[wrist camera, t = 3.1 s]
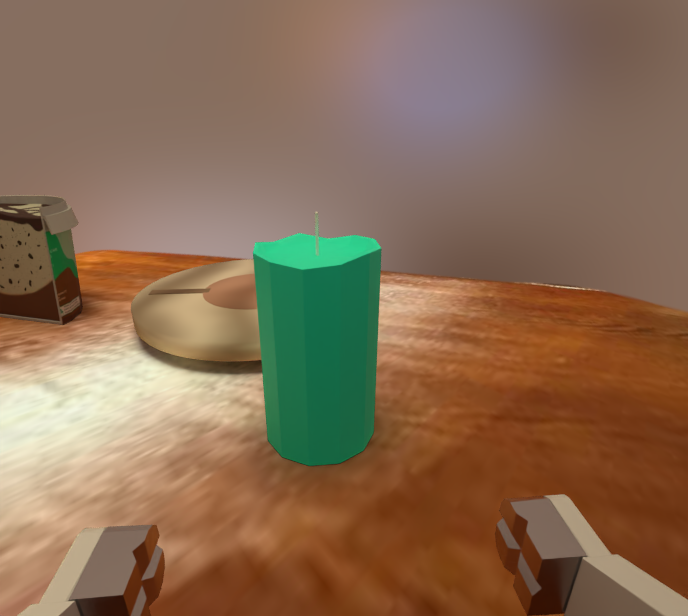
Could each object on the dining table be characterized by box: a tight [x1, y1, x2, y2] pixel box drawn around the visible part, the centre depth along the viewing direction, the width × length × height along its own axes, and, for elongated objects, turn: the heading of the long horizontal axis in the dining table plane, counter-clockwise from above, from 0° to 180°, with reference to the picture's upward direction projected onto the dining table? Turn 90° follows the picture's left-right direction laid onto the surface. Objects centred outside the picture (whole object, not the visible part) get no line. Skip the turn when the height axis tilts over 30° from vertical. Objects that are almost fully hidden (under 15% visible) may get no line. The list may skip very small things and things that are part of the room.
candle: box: [253, 212, 381, 466], centre depth 21 cm, size 6×6×12 cm
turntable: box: [131, 259, 261, 361], centre depth 37 cm, size 20×20×2 cm
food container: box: [0, 195, 83, 325], centre depth 38 cm, size 12×6×10 cm, turn 76°
